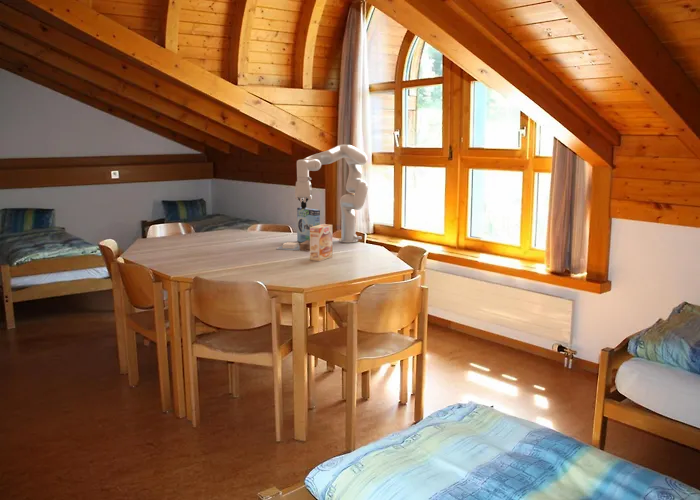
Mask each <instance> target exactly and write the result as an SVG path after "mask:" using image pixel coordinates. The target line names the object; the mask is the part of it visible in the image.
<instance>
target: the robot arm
mask: <svg viewBox="0 0 700 500" xmlns="http://www.w3.org/2000/svg"><path fill="white" fill-rule="evenodd" d="M341 159H344V160H345V162H346V164H347V165H348V170H349V171H348V176H347V179H346V180H347V181H346V184H345V190H346V192H347V193H345V194H344V195H342V196H341V197H340V200H339V207H340V211H341V215H340V216H341V220H340V221H341V222H340V224H341V227H340V228H341V236H340V237H341V238H339V240H338V241H339V242H340V243H346V244H347V243H357V242H358V241H359V240H362V238H363V237H362V236H360V235H359V236H358V235H357V234H356V232H357V231H356V230H357V229H356V226H357V225H356V224H357V223H356V219H357V217H356V211H358V210H361V209H362V208H363V207H364V205H365V201H366V197H367V194H368V188H369V186H368V183H367V181H366V180H364V179H362V174H363V171H362V170H363V169H362V167H361V166H363V165H365V164H366V163H367V160H368V156H367V154H366V153H365V152H364V151H362V150H360V149H359V148H357V147H355V146H354V145H351V144H338V145H336V146H333V147H331V148H330V149H328V150H325V151H321V152H319V153H318V152H317V153H315V154H312V155H309V156H307V157H305V158H303V159H298V160H296V181H295V187H294V196H295V197H294V198H295V200H298V201H299V202H300V207H302V209H305V208H307V202H308V201H309V200H310V201H311V200H312V199H313V189H312V188H313V187H312V183H311V180H312V177H310V171H312V172H316V171H320V169H321V168H322V166H323V165H329V164H333V163H335V162H337V161H339V160H341ZM348 193H350V194H348Z"/></svg>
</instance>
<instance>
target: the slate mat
mask: <svg viewBox="0 0 700 500" xmlns="http://www.w3.org/2000/svg"><path fill="white" fill-rule="evenodd" d="M276 250H280V251H281V250H282V251H301V250H300V244H299V247H297V248H295V249H292V248H283V245H282V246H281V245H280V246H279V247H277V248H276Z"/></svg>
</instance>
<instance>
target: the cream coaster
mask: <svg viewBox="0 0 700 500" xmlns="http://www.w3.org/2000/svg"><path fill="white" fill-rule="evenodd" d="M299 245H300V243H299V242H290V241H289V242H288V241H287V242H285V243H283V244H282V246H283V248H292V249H295V248H297V247H299Z"/></svg>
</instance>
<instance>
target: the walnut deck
mask: <svg viewBox="0 0 700 500" xmlns="http://www.w3.org/2000/svg"><path fill="white" fill-rule="evenodd" d="M299 245H300V250H299V251H304V252H305V251H307V252H310V240H306V241H304V242H300V243H299Z"/></svg>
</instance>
